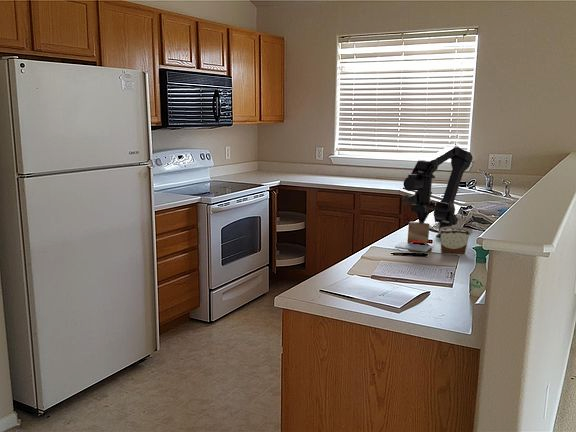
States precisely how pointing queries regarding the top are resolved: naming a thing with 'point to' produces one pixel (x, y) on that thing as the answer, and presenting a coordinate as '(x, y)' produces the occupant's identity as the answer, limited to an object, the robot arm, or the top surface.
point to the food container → (454, 240)
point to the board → (413, 246)
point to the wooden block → (418, 232)
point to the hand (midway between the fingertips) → (421, 225)
